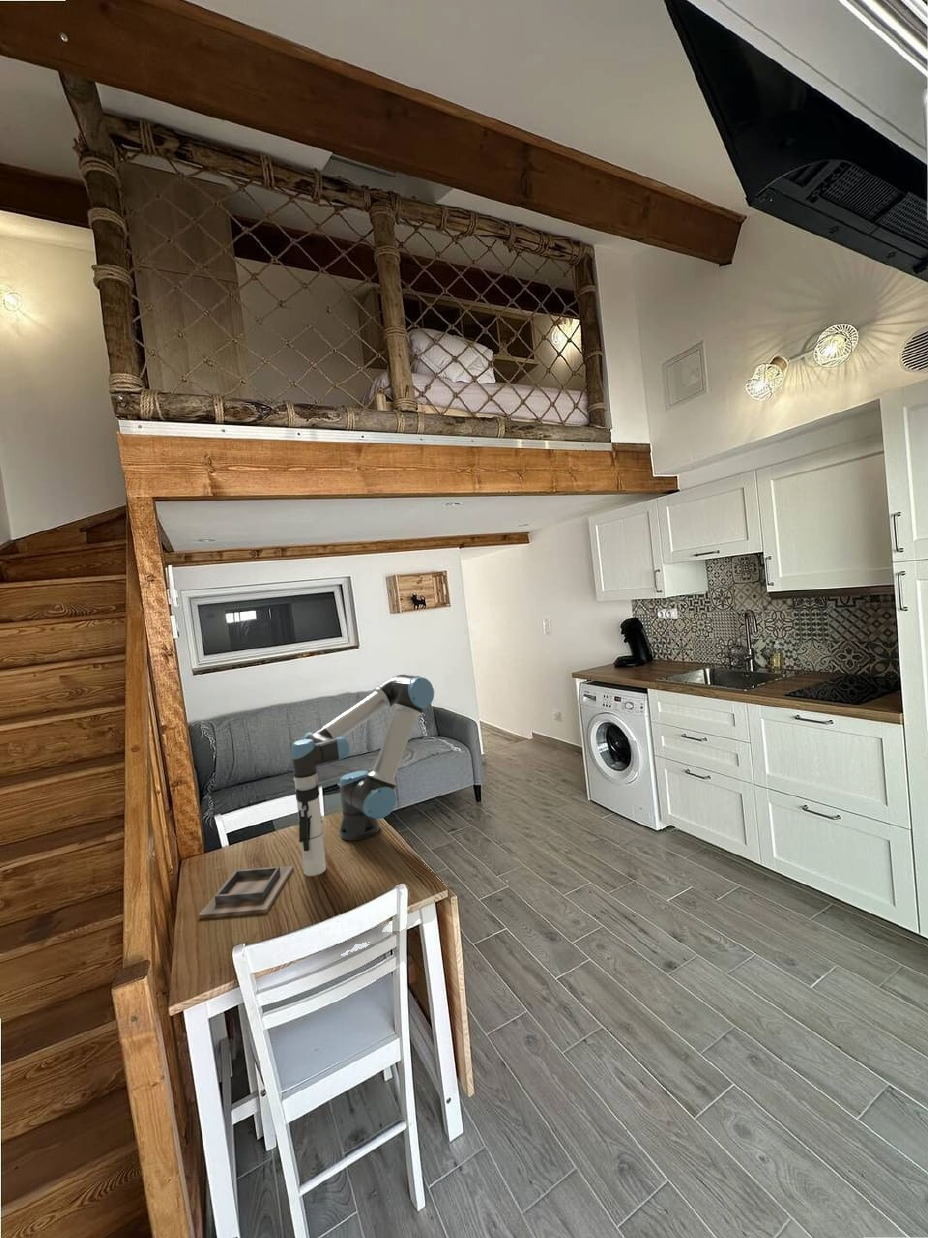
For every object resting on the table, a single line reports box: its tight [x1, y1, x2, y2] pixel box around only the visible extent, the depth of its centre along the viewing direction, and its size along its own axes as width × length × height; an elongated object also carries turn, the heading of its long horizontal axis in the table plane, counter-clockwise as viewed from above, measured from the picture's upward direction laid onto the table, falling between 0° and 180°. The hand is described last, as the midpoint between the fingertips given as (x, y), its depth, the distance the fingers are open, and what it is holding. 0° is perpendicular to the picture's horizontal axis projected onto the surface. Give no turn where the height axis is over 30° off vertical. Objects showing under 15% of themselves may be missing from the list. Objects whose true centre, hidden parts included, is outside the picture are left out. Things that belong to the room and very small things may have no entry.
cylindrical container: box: [296, 795, 327, 877], centre depth 170 cm, size 7×7×25 cm
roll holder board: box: [198, 865, 294, 920], centre depth 160 cm, size 20×24×4 cm
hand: (313, 851), depth 170 cm, fingers open, 10 cm apart
